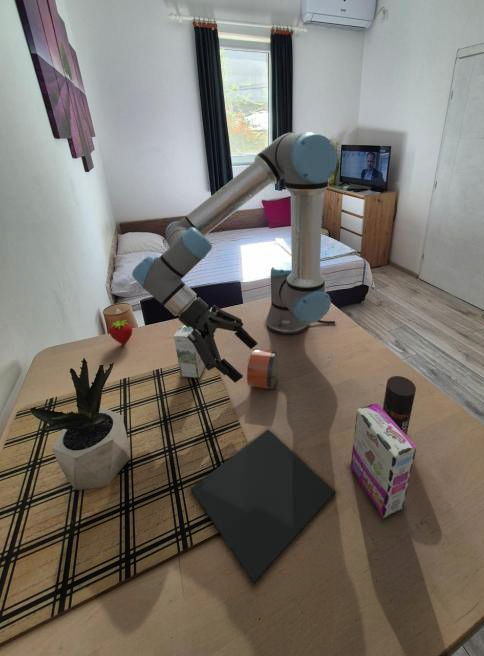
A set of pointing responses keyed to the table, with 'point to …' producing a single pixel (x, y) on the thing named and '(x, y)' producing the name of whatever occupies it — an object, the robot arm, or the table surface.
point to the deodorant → (399, 401)
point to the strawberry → (121, 331)
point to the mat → (261, 501)
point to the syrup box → (187, 354)
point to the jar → (263, 368)
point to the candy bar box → (382, 458)
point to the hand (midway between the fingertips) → (247, 361)
